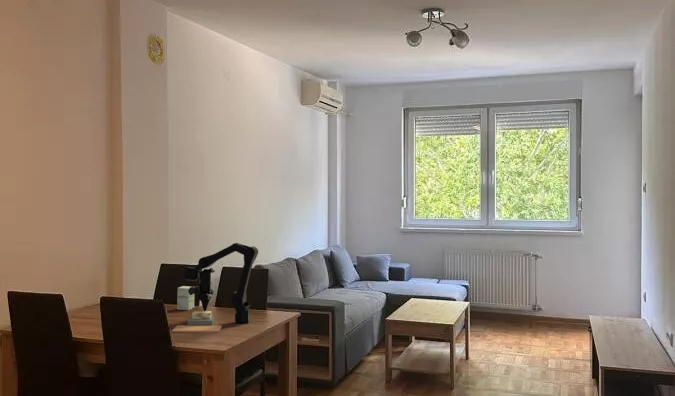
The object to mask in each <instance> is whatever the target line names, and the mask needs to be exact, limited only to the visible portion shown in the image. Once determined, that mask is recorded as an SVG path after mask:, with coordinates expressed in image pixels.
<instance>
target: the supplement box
mask: <svg viewBox="0 0 675 396" xmlns="http://www.w3.org/2000/svg"><path fill="white" fill-rule="evenodd" d="M190 287H191V286H187V285H182V286H179V287H177V300H176V304H177V306H176V307H177V309H176V310H180V311H191V310H193V309H192V308H194V309H195V294H192V295H190V294H189V293H188V289H189V288H190ZM190 309H191V310H190Z"/></svg>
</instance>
